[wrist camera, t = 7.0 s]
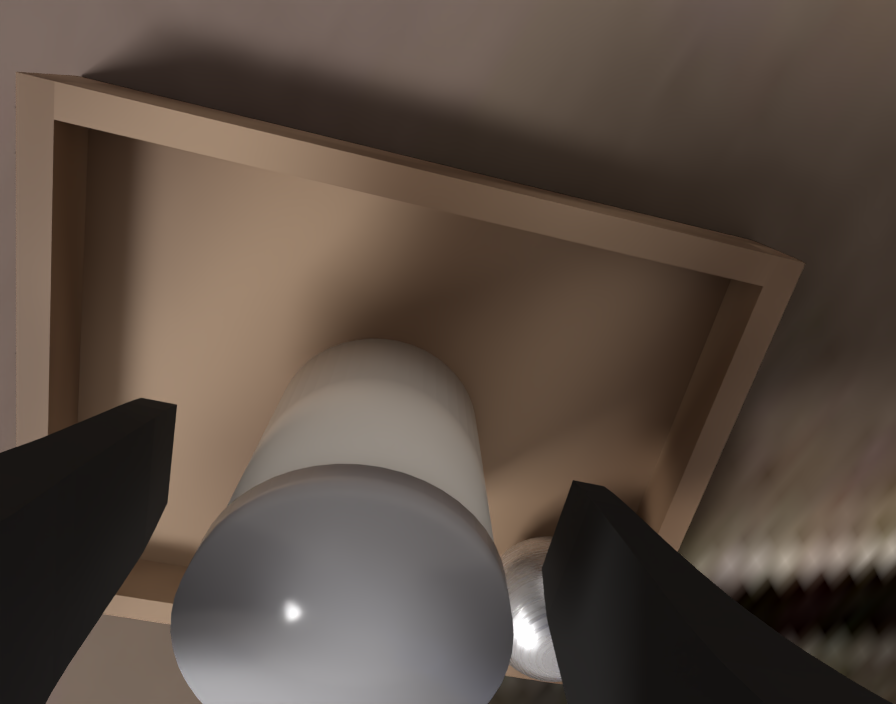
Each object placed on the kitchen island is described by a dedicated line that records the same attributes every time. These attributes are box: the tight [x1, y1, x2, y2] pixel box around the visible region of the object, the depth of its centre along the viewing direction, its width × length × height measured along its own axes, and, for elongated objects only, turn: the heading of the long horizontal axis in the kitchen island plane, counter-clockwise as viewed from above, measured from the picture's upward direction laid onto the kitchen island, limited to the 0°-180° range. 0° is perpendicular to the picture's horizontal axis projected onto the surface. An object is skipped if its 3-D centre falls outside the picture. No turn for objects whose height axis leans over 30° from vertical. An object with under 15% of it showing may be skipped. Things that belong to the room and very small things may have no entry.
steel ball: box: [500, 536, 562, 682], centre depth 14 cm, size 3×3×3 cm
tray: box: [16, 72, 806, 684], centre depth 14 cm, size 14×11×2 cm
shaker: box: [171, 339, 514, 704], centre depth 12 cm, size 5×5×6 cm
